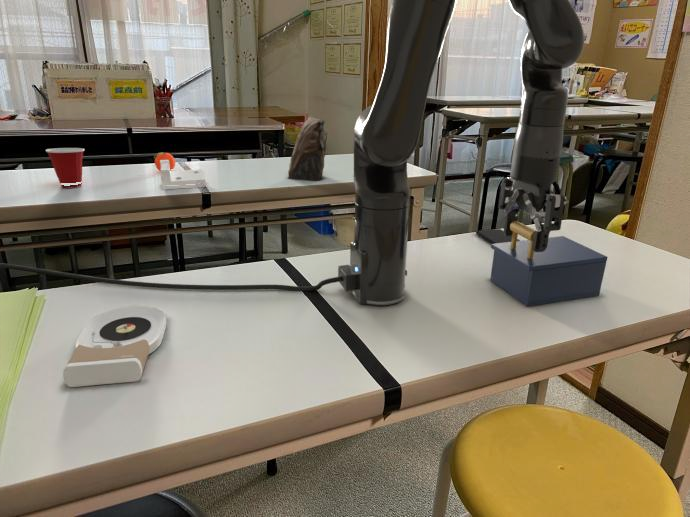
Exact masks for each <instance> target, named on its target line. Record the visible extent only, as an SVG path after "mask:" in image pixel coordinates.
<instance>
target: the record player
mask: <svg viewBox="0 0 690 517" xmlns="http://www.w3.org/2000/svg"><path fill="white" fill-rule="evenodd" d="M166 328H167V317H166V313H165V312H164V311H163V310H161V309H160V308H157V307H155V306H150V305H126V306H120V307H116V308H111V309H109V310H106V311H103V312H101V313H99V314H97V315H95V316H94V317H92V318H91V319H90V320H88V322H87V323H86V324H85V326H84V327H83V329H82V331H81V332H80V333H79V336H78V337H77V339H76V341H75V349H74V352H73V353H72V355H71V357H70V358H69V360H68V362H67V364H66V365H65V367H64V368H63V370H62V371H63V372H62V375H63V380H64V382H65V384H66V386H68V387H70V388H77V387H79V388H80V387H88V386H99V385H110V384H121V383H122V384H123V383H132V382H133V383H134V382H139V381H140V380H141V378H142V375H143V372H144V370H145V367H146V363H147V360H148V358H149V355H150V354H152V353H154V352H155V351H157V349H158V348H159V347H160V346H161V344H162V342H163V339H164V336H165V333H166Z"/></svg>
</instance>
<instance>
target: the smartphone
mask: <svg viewBox="0 0 690 517" xmlns="http://www.w3.org/2000/svg"><path fill="white" fill-rule="evenodd" d="M475 234H476V235H477V236H479V237H480V238H482V239H484V240H485V241H487V242H488V243H489V244H495V243H504V242H511V241H512V236H506V235H504V229H501V228H493V229H480V230H476V231H475ZM517 241H521V240H520V239H519V238H517Z"/></svg>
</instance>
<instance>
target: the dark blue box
mask: <svg viewBox="0 0 690 517" xmlns="http://www.w3.org/2000/svg"><path fill="white" fill-rule="evenodd" d="M606 266H607V261H603V262H595V263H587V264H580V265H572V266H564V267H557V268H549V269H541V270H534V271H528V270H526V269H525V268H523V267H522V266H520V265H518V264H517V263H515V262H513V261H512V260H510V259H508V258H507V257H505V256H504V255H502V254H500V253H499V252H497V251H495V250H494V249H493V255H492V264H491V272H490V279H489V280H490V281H491V282H492V283H493V284H495V285H496V286H498V288H500V289H502V290H503V291H504V292H506V293H508V294H509V295H510V296H511V297H512V298H514V299H515V300H517V301H519V303H521V304H523V305H524V306H526V307H534V306H540V305H546V304H551V303H559V302H565V301H572V300H579V299H584V298H585V299H586V298H591V297H597V296H598V297H599V296H600V293H601V288H602V283H603V279H604V275H605V270H606Z"/></svg>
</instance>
